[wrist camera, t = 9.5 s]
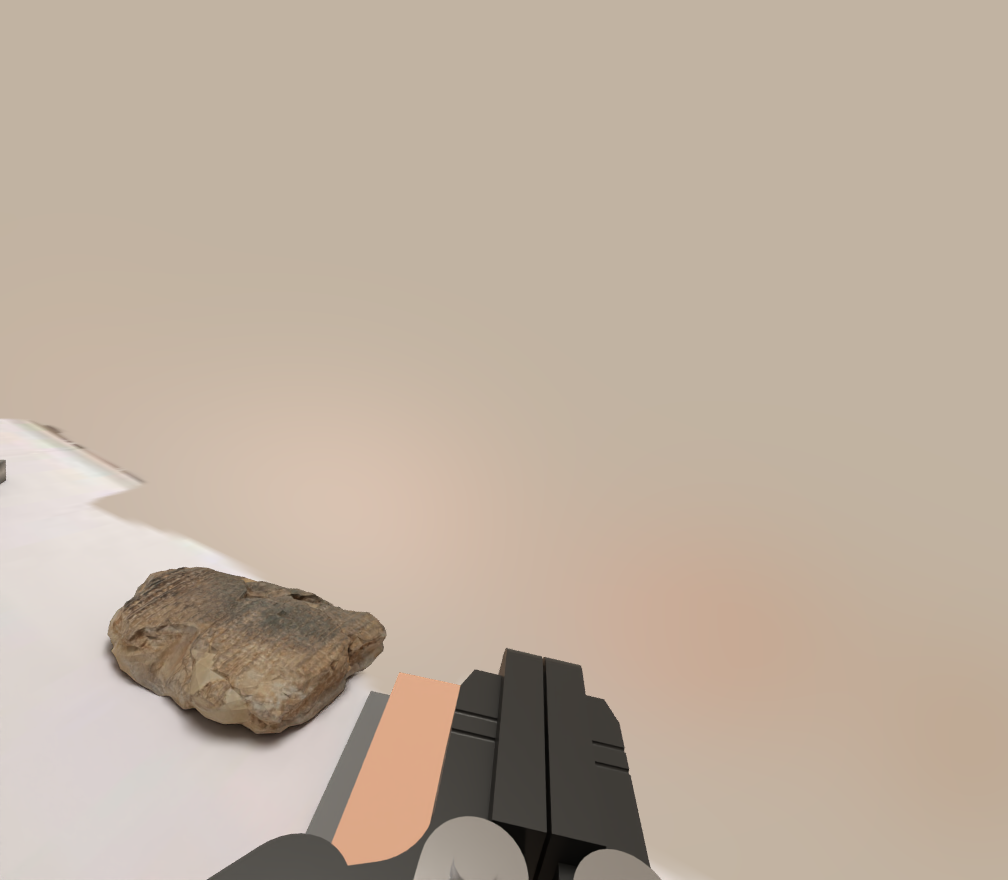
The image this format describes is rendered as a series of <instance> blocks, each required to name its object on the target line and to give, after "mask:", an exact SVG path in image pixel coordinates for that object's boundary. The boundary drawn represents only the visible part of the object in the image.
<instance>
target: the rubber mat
mask: <svg viewBox="0 0 1008 880" xmlns="http://www.w3.org/2000/svg"><path fill="white" fill-rule="evenodd" d="M389 697H390V695H387V694H382V693H377V692H373V691H371V692H370V694H369V696H368V698H367V701H366V703H365V705H364V707H363V709H362V711H361V714H360V716H359V718H358V720H357V722H356V725H355V727H354V729H353V731H352V733H351V735H350V738H349V740H348V742H347V744H346V746H345V749H344V751H343V753H342V755H341V757H340V759H339V762H338V764H337V766H336V768H335V770H334V773H333V775H332V777H331V779H330V781H329V783H328V786H327V788H326V790H325V792H324V794H323V796H322V799H321V801H320V803H319V805H318V807H317V810H316V812H315V814H314V816H313V818H312V820H311V823H310V825H309V827H308V829H307V831H306V834H312V835H315V836H318V837H321V838H323V839H325V840H327V841H329V842H330V843H332V840H333V838H334V835H335V833H336V830H337V828H338V825H339V823H340V820H341V818H342V815H343V813H344V810H345V808H346V805H347V803H348V800H349V798H350V795H351V793H352V790H353V788H354V785H355V783H356V780H357V778H358V775H359V773H360V770H361V768H362V765H363V762H364V760H365V757H366V755H367V752H368V750H369V747H370V745H371V742H372V740H373V737H374V735H375V732H376V730H377V727H378V725H379V722H380V720H381V717H382V715H383V712H384V710H385V707H386V705H387V702H388V700H389Z"/></svg>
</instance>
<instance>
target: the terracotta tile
mask: <svg viewBox="0 0 1008 880" xmlns="http://www.w3.org/2000/svg"><path fill="white" fill-rule="evenodd" d="M460 686H461V685H456V684H452V683H447V682H442V681H437V680H433V679H428V678H424V677H419V676H415V675H410V674H405V673H401V672H400V673H399V675H398V677H397V680H396V682H395V685H394V687H393V690H392V692H391V695H390V697H389V700H388V702H387V705H386V707H385V710H384V712H383V715H382V717H381V720H380V722H379V725H378V727H377V730H376V732H375V735H374V737H373V740H372V742H371V745H370V747H369V750H368V752H367V755H366V757H365V760H364V762H363V765H362V768H361V770H360V773H359V775H358V778H357V780H356V783H355V785H354V788H353V790H352V793H351V795H350V798H349V800H348V803H347V805H346V808H345V810H344V813H343V815H342V818H341V820H340V823H339V825H338V828H337V830H336V833H335V835H334V838H333V840H332V843H331V844H333V845H334V846H335V847H336V848H337V849H338V850H339V851H340V853H341V854H342V855H343V857H344V859H345V861H346V863H347V865H355V864H363V863H370V862H377V861H382V860H387V859H390V858H392V857H395V856H398V855H399V854H401V853H403V852H405V851H406V850H408V849H409V848H410V847H412V846H413V845H414V844H415V843H416V842H417V841H418V840H419V839H420V838H421V837H422V836H423V834H424V833H425V831H426V830H427V829H428V827H429V824H430V820H431V816H432V811H433V806H434V802H435V797H436V792H437V787H438V783H439V778H440V773H441V768H442V764H443V759H444V754H445V750H446V745H447V741H448V737H449V733H450V728H451V724H452V720H453V715H454V711H455V707H456V702H457V698H458V694H459V690H460Z"/></svg>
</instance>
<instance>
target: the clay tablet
mask: <svg viewBox="0 0 1008 880" xmlns="http://www.w3.org/2000/svg"><path fill="white" fill-rule="evenodd" d="M108 636H109V637H110V639H111V643H112V644H113V649H112V650H111V652H112V653H113V654H114V656H115V657H116V659H117V662H118V665H119V667H120V670H122V671H124V672H126V673H127V674H128V675H129V676H130V677H131V678H132V679H133V680H134V681H136V682H137V683H139V684H140V685H142V686H144V687H145V688H147V689H149V690H151V691H153V692H154V693H155V694H156V695H158V696H170V697H171V698H172V699H173V700H174V701H175V702H176V703H177V704H178V705H179V706H180V707H181V708H182V709H191V708H196V709H197V710H198V711H199V712H200V713H201V714H202V715H203V716H204V717H205V718H208V719H211V720H213V721H216V722H219V723H221V724H242V725H244V726H246V727H247V728H249V729H251V730H252V731H253V732H254V733H255V734H262V733H281V732H282V731H283V730H285V729H286V728H288V727H289V726H295V725H300V724H302V723H304V722H306V721H308V720H310V719H311V718H313V717H314V716H315V715H316V714H317V713H319V712H320V711H321V710H322V709H323V708H324V707H325V706H327V705H328V704H330V703H332V702H333V701H334V699H335V698H336V697H337V696H338V695H339V694H340V693H341V692H342V691H343V690H344V687H345V684H346V679H347V677H348V676H350V675H353V674H354V673H355V672H359V671H363V670H364V669H366V668H367V667H368V666H369V665H371V664H372V662H373V661H374V660H375V659H376V657H377V656H378V655H379V654H380V653H381V652H382V651H383V648H384V646H383V641H384V639H385V637H386V630H385V628H384V626H383V625H382V624H381V623H380V622H379V620H377V619H376V618H375V617H374V616H373V615H371V614H370V613H368V612H355V611H348V610H343V609H341V608H340V607H334V606H333V605H332V604H331V603H329V602H327V601H325V600H323V599H322V598H320V597H318V596H316V595H315V594H313V593H309V592H305V591H302V590H300V589H288V588H285V587H281V586H278V585H275V584H271V583H267V582H263V581H258V582H257V581H254V580H251V579H248V578H245V577H240V576H234V575H230V574H226V573H222V572H218V571H215V570H213V569H209V568H202V567H194V568H187V567H183V568H178V569H169V570H167V571H160V572H156V573H153V574H150V575H149V577H148V578H147V579H146V581H145V582H144V583H143V584H142V585H141V586H139V587H138V589H137V591H136V593H135V595H134V597H133V598H132V599H131V600H129V601H127V602H126V603H125V605H124V606H123V607H122V608H120V609H119V610H117V612H116V613H115V615H114V616H113V618H112V619H111V621H110V624H109V629H108Z"/></svg>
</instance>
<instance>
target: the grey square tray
mask: <svg viewBox="0 0 1008 880" xmlns="http://www.w3.org/2000/svg"><path fill="white" fill-rule="evenodd" d="M5 480H6V460H0V484H1V483H2V482H4V481H5Z"/></svg>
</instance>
